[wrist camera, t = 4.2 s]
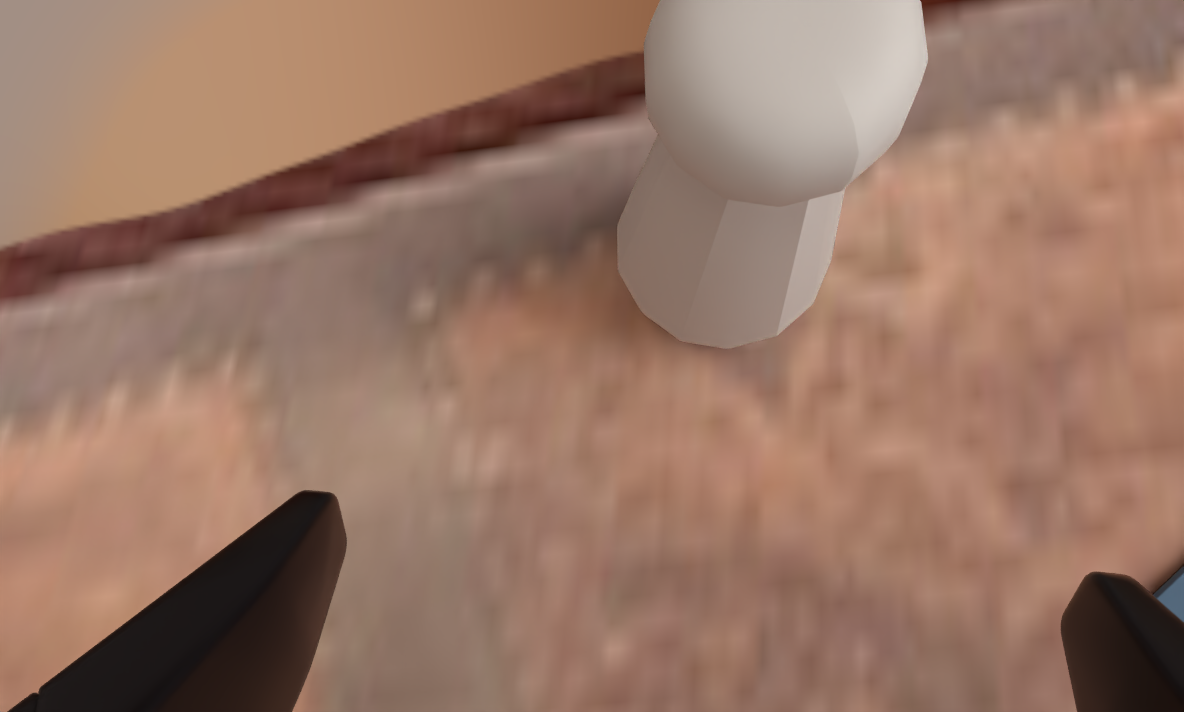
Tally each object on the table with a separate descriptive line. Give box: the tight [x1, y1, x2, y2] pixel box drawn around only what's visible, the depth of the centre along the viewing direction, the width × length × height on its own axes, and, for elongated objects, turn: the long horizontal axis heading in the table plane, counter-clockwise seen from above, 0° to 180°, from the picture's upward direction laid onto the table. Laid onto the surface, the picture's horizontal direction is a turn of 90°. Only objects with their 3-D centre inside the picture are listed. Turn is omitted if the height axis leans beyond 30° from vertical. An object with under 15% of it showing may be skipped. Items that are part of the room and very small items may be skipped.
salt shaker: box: [617, 0, 928, 349], centre depth 18 cm, size 6×6×13 cm
